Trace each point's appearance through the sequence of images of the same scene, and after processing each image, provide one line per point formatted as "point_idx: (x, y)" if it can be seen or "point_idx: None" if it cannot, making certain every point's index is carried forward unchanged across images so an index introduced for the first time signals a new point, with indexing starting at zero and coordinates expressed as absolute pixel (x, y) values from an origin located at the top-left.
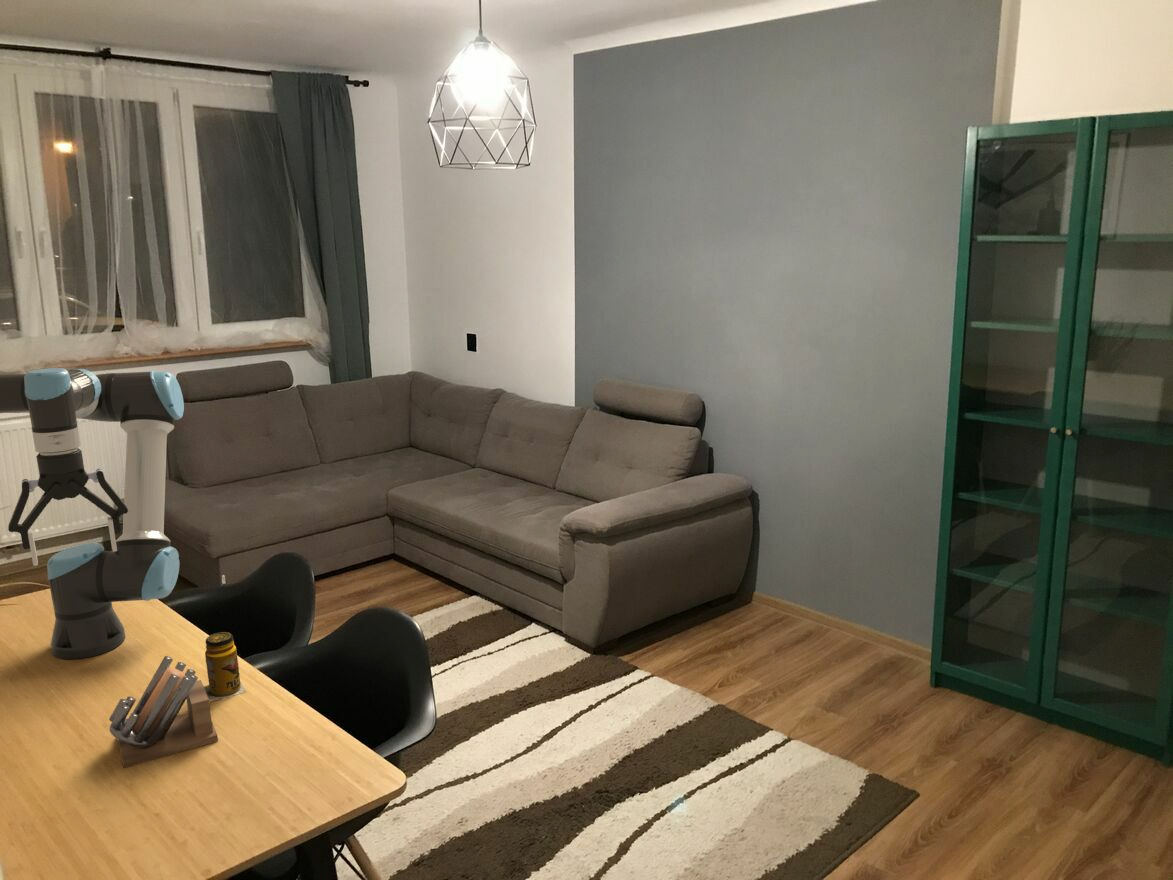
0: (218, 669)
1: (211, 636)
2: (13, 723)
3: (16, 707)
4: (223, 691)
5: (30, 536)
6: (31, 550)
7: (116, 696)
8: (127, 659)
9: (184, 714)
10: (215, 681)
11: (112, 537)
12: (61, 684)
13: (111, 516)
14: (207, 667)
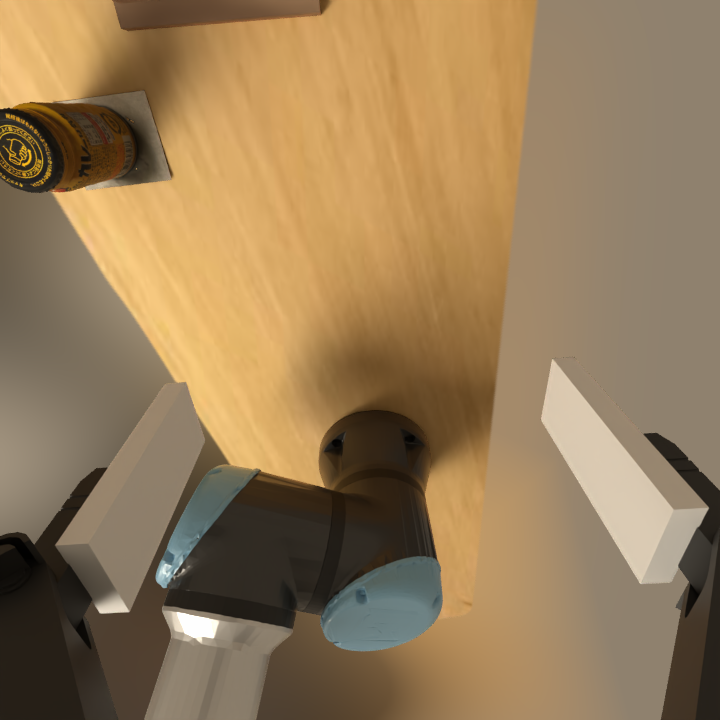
0: (66, 106)
1: (43, 171)
2: (507, 214)
3: (496, 279)
4: (95, 105)
5: (672, 487)
6: (618, 412)
7: (328, 232)
8: (313, 376)
9: (170, 16)
10: (97, 113)
11: (143, 436)
12: (420, 333)
13: (45, 576)
14: (100, 137)
